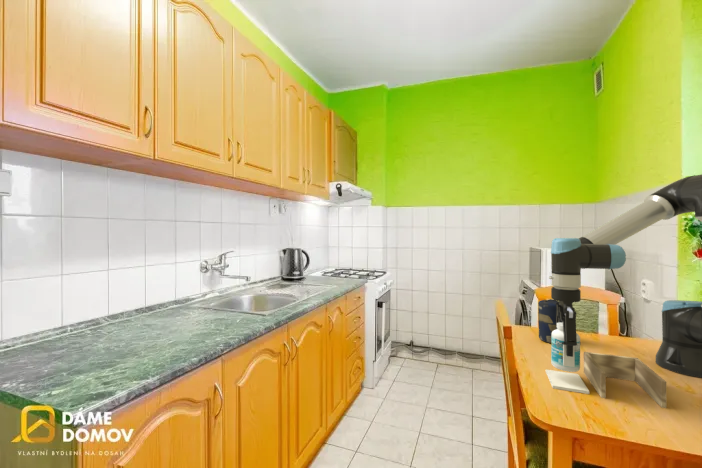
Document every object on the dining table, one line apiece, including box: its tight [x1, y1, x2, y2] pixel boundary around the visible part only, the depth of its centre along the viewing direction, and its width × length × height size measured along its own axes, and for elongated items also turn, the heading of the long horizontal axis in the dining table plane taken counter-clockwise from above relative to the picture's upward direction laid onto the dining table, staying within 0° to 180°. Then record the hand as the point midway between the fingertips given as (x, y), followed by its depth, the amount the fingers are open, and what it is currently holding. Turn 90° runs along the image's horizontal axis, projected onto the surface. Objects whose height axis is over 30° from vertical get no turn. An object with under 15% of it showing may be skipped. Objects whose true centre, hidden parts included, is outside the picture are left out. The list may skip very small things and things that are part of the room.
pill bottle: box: [550, 322, 581, 373], centre depth 98 cm, size 8×7×14 cm
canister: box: [537, 298, 559, 344], centre depth 134 cm, size 10×10×18 cm
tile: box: [545, 369, 590, 395], centre depth 98 cm, size 9×12×1 cm
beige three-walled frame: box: [583, 351, 667, 409], centre depth 93 cm, size 14×17×7 cm
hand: (565, 360), depth 98 cm, fingers closed on pill bottle, 7 cm apart
